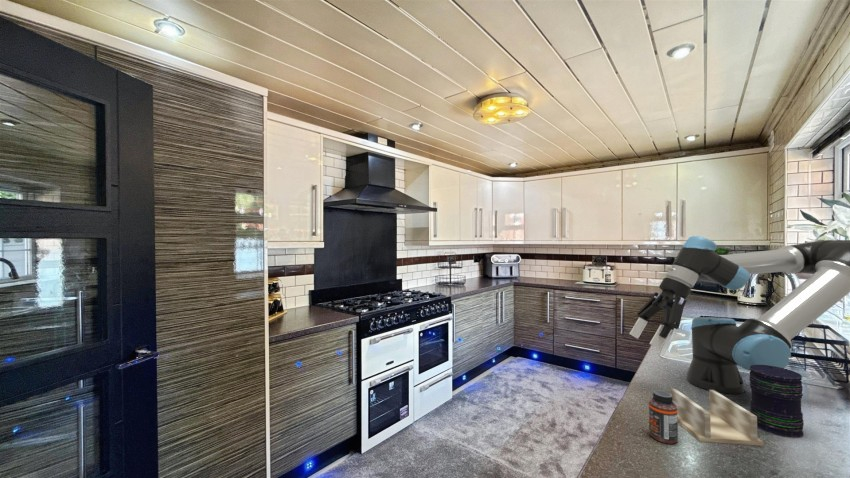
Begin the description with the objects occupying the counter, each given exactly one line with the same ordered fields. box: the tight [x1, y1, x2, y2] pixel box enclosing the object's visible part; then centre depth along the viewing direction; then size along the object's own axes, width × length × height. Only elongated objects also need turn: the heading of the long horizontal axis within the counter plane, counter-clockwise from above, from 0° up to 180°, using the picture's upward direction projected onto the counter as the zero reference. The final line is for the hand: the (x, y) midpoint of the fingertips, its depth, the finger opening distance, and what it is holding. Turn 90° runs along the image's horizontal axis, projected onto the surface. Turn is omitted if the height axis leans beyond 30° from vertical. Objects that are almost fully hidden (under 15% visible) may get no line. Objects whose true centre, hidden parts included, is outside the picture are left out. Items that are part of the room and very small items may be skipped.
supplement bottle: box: [648, 389, 679, 445], centre depth 85 cm, size 6×6×11 cm
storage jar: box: [748, 365, 805, 439], centre depth 90 cm, size 10×10×15 cm
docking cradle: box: [669, 387, 765, 447], centre depth 90 cm, size 15×14×7 cm
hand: (643, 341), depth 106 cm, fingers open, 13 cm apart
